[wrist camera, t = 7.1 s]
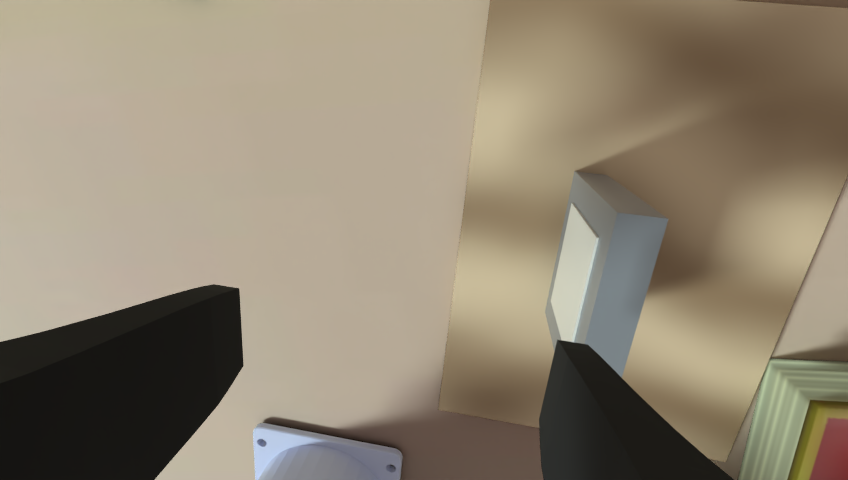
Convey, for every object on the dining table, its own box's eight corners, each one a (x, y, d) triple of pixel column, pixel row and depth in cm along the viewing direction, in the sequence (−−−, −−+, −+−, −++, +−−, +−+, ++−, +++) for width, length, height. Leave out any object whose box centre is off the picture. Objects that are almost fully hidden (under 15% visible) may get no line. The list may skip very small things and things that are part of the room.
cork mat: (721, 455, 20) (725, 461, 19) (439, 404, 21) (438, 409, 21) (905, 15, 14) (916, 12, 13) (492, -15, 15) (492, -17, 15)
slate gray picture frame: (573, 315, 18) (610, 416, 12) (543, 311, 18) (565, 408, 13) (607, 174, 16) (668, 219, 10) (572, 170, 16) (614, 212, 11)
